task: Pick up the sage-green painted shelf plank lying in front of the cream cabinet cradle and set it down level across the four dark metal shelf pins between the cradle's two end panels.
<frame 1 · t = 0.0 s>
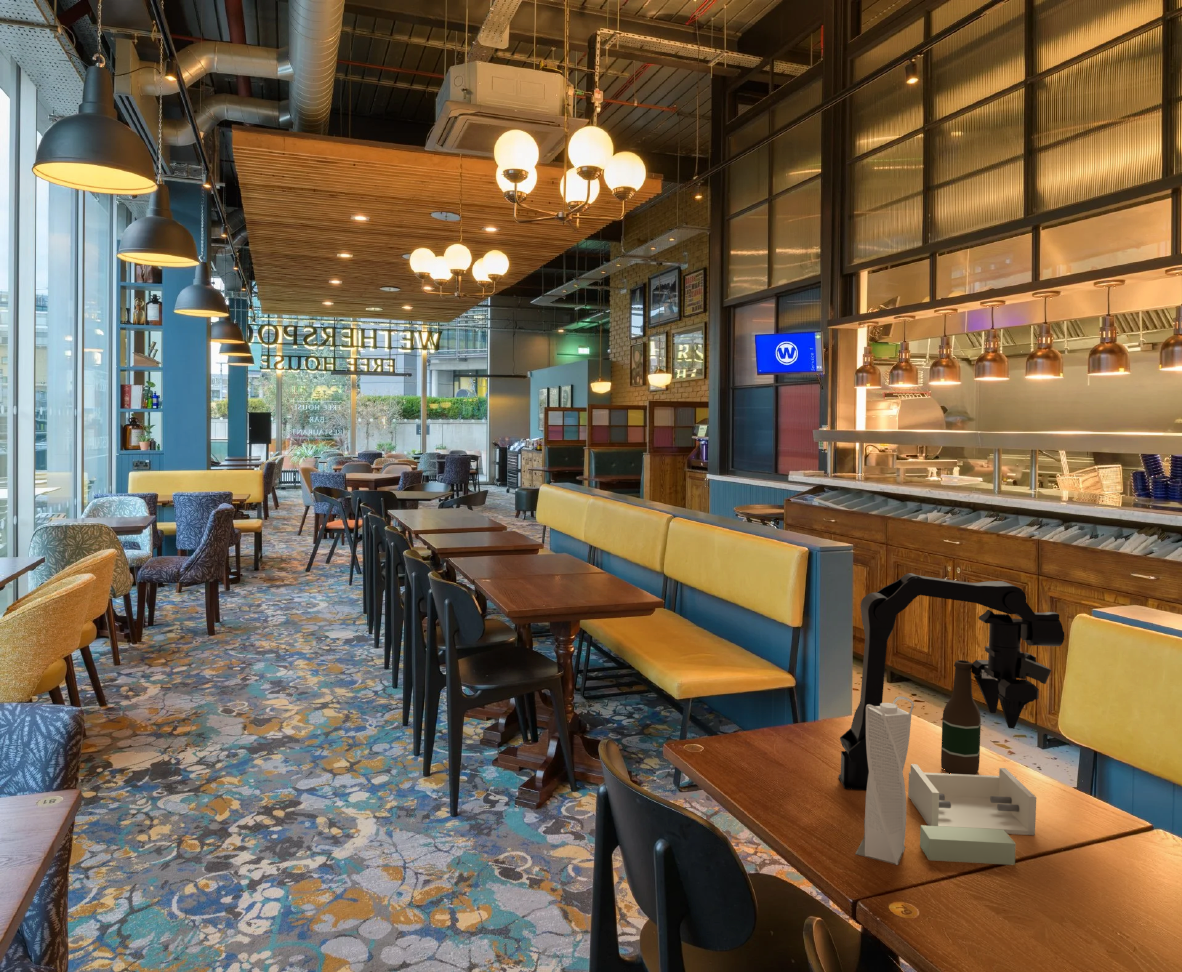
hand: (1001, 720, 166), 15 cm above the table, tool pointing down, fingers open, 9 cm apart
beer bottle: (959, 771, 177), on the table
shelf board: (966, 856, 140), on the table
cradle: (970, 817, 155), on the table
skyscraper: (884, 856, 141), on the table
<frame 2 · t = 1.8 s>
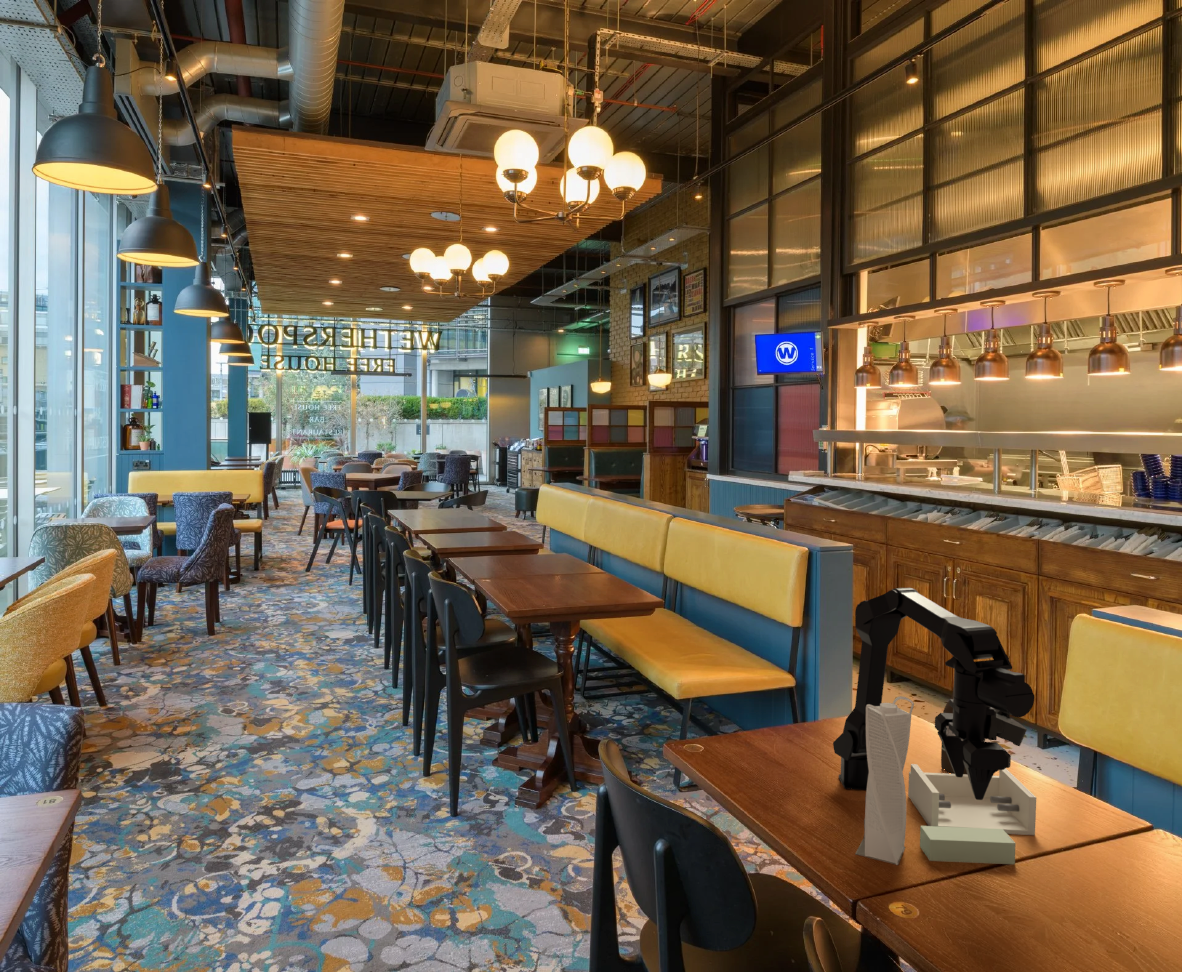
hand: (968, 787, 140), 12 cm above the table, tool pointing down, fingers open, 9 cm apart
nothing on the table moved.
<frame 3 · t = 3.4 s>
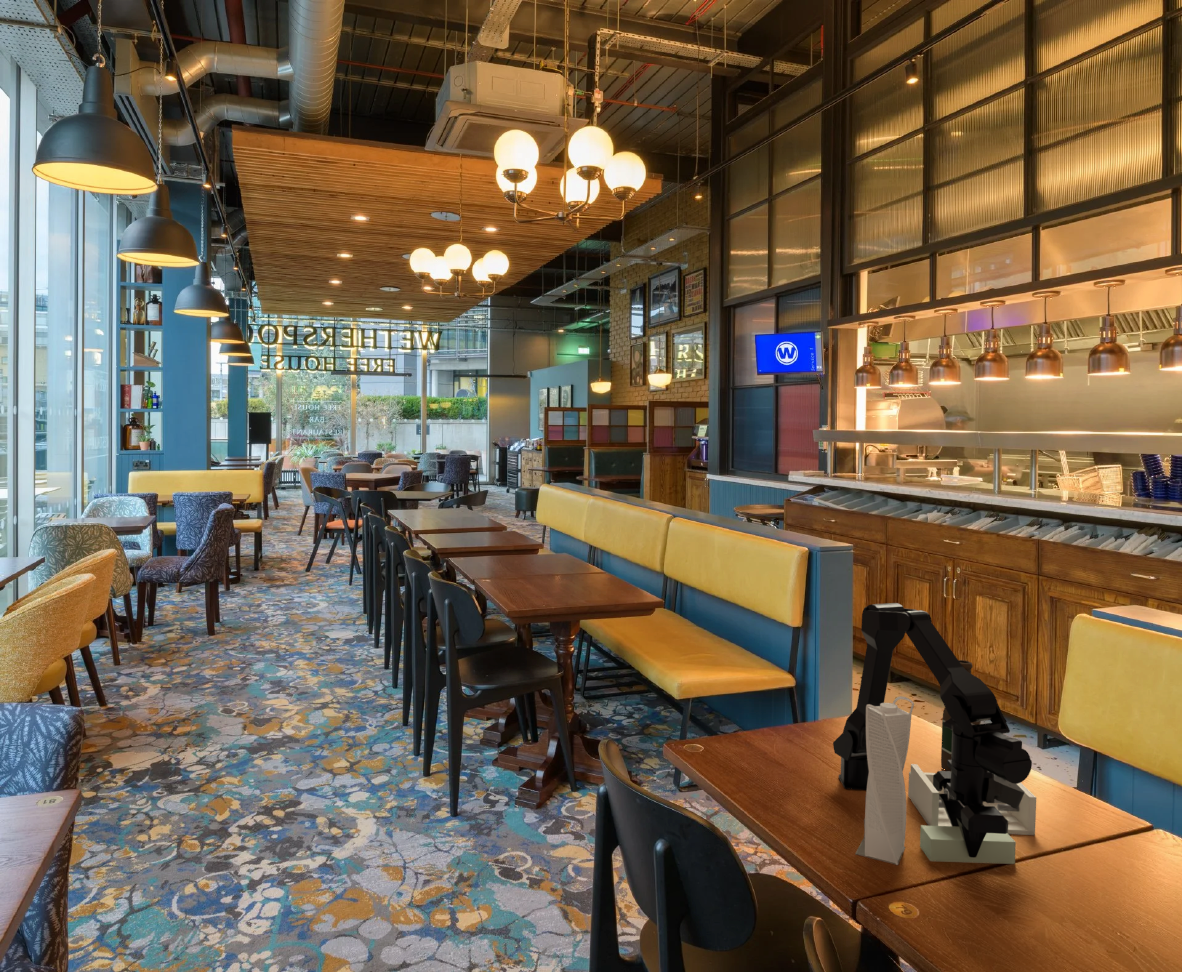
hand: (966, 848, 140), 1 cm above the table, tool pointing down, fingers closed on shelf board, 5 cm apart
shelf board: (966, 856, 140), on the table, touching gripper
everything else where it was.
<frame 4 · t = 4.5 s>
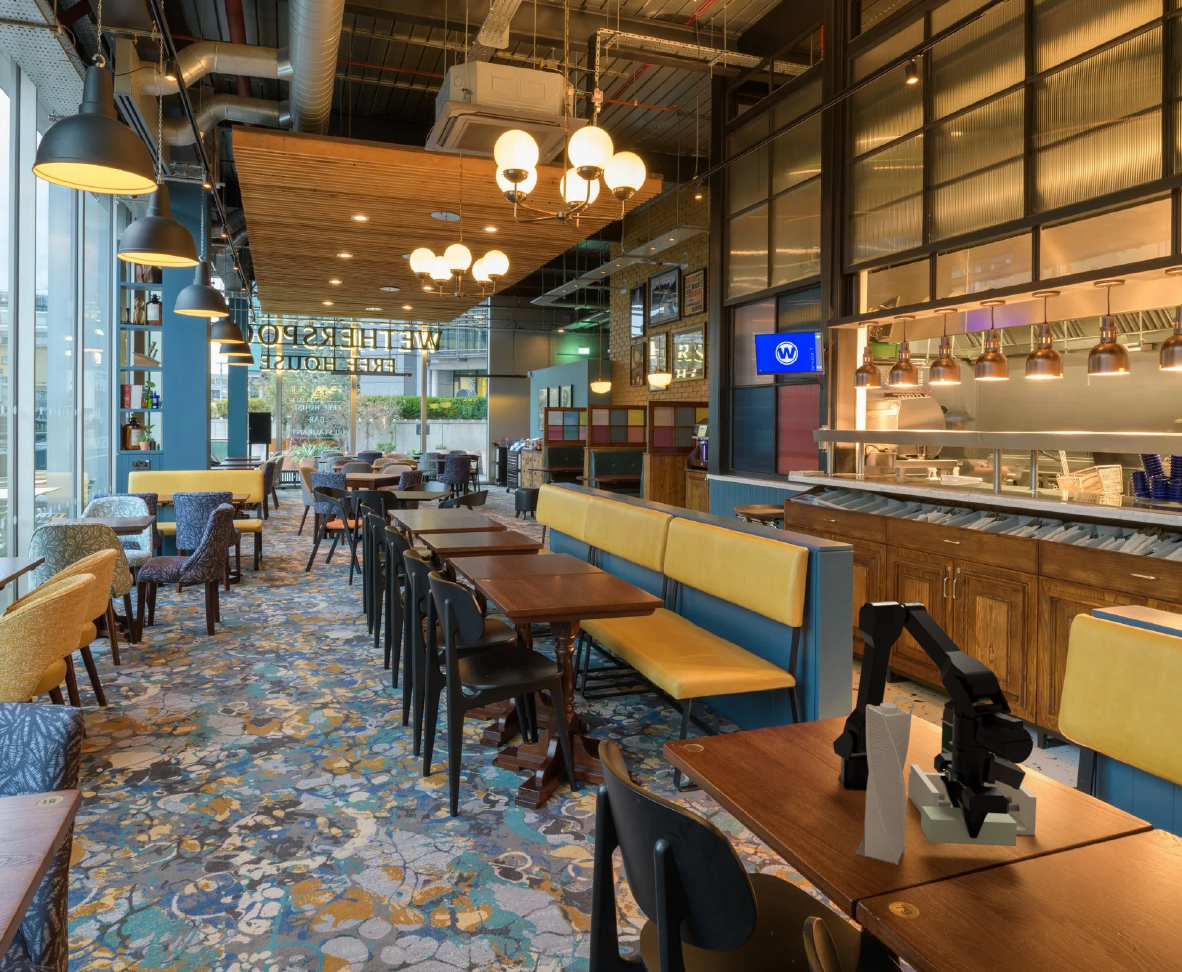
hand: (967, 830, 140), 4 cm above the table, tool pointing down, fingers closed on shelf board, 5 cm apart
shelf board: (967, 837, 140), point 3 cm above the table, touching gripper
everything else where it was.
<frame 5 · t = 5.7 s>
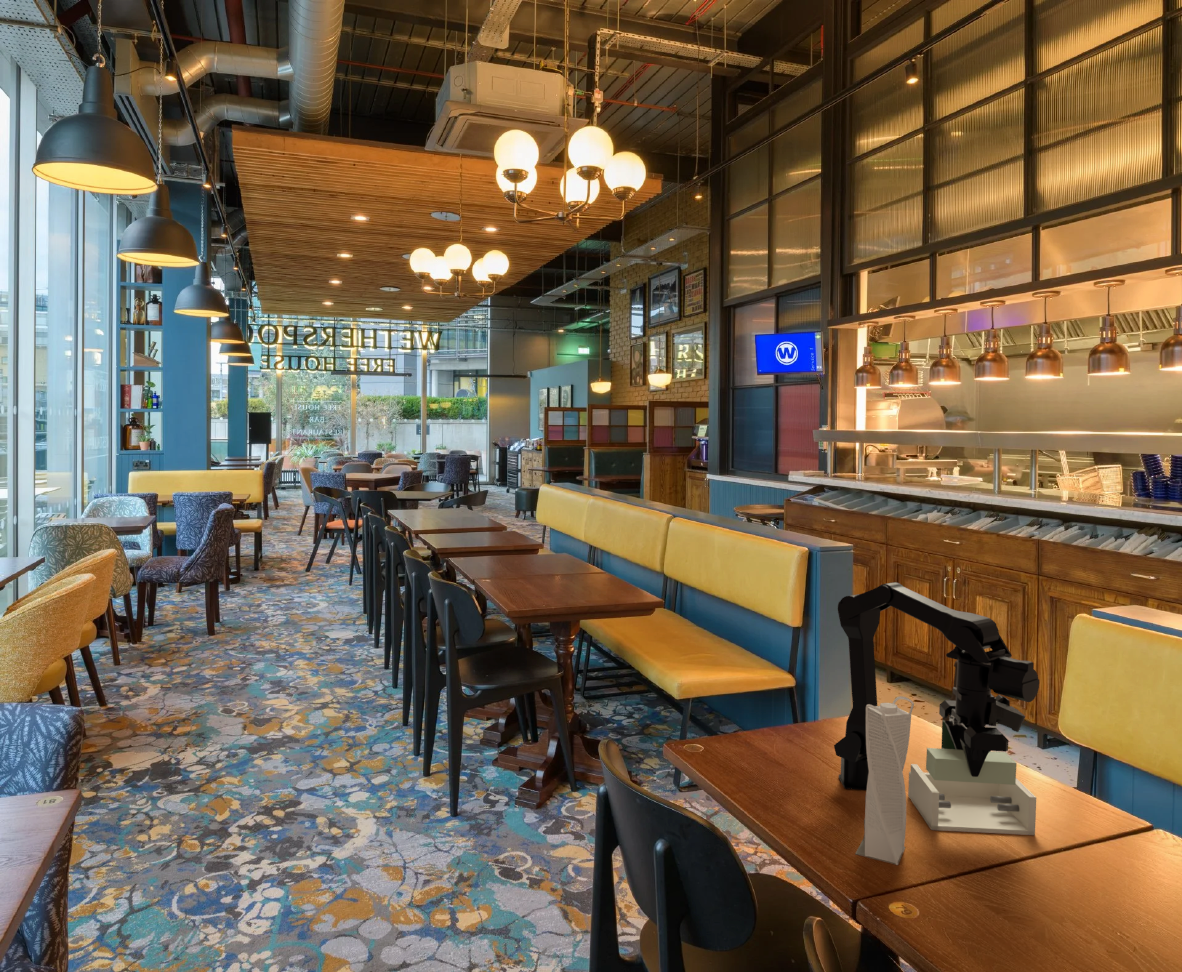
hand: (969, 770, 149), 11 cm above the table, tool pointing down, fingers closed on shelf board, 5 cm apart
shelf board: (969, 776, 149), point 10 cm above the table, touching gripper
everything else where it was.
when the fingers open (6 cm above the table, at t = 7.6 s): shelf board stays where it is, resting on cradle.
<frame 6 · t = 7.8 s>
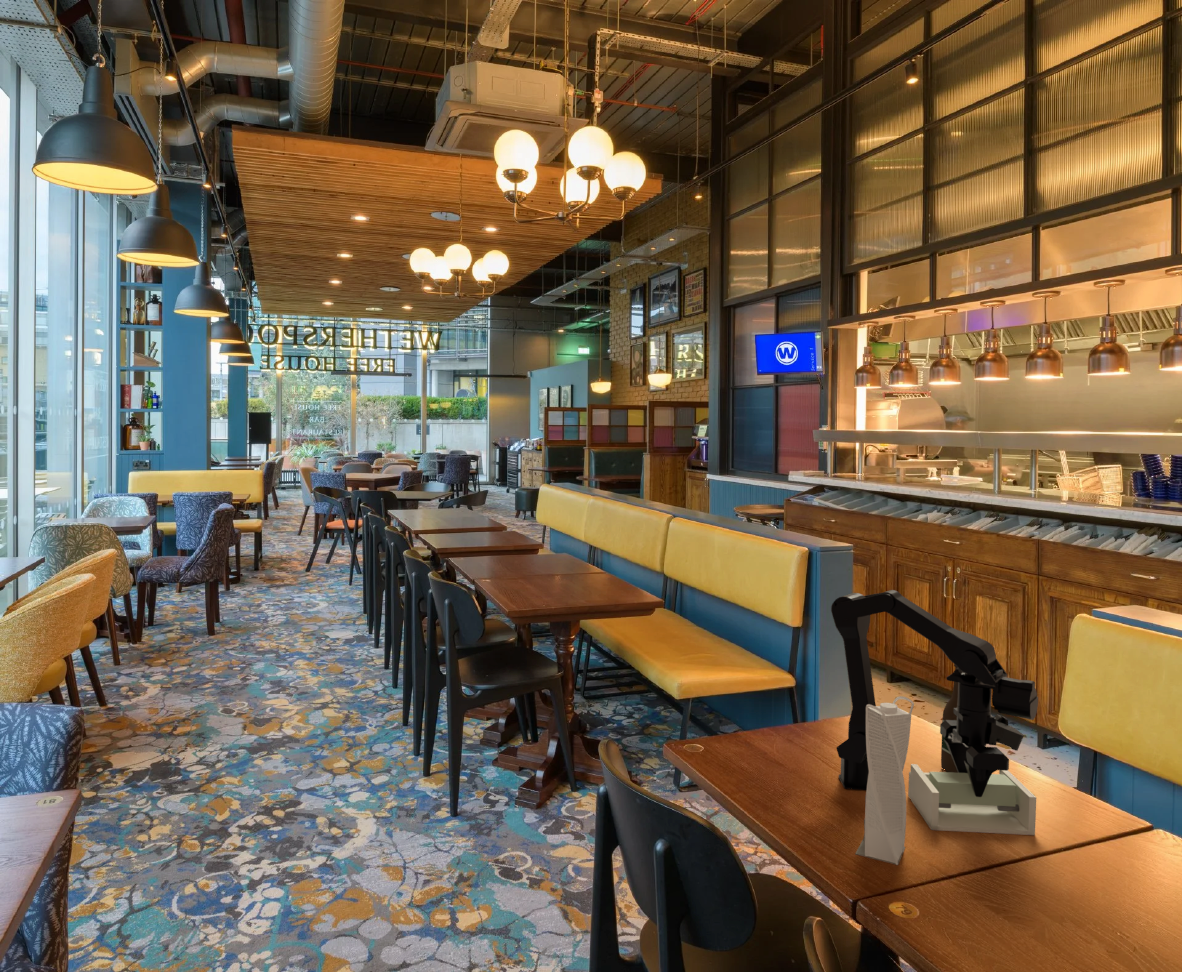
hand: (971, 788, 154), 6 cm above the table, tool pointing down, fingers open, 7 cm apart
shelf board: (971, 798, 154), point 3 cm above the table, touching cradle
everything else where it was.
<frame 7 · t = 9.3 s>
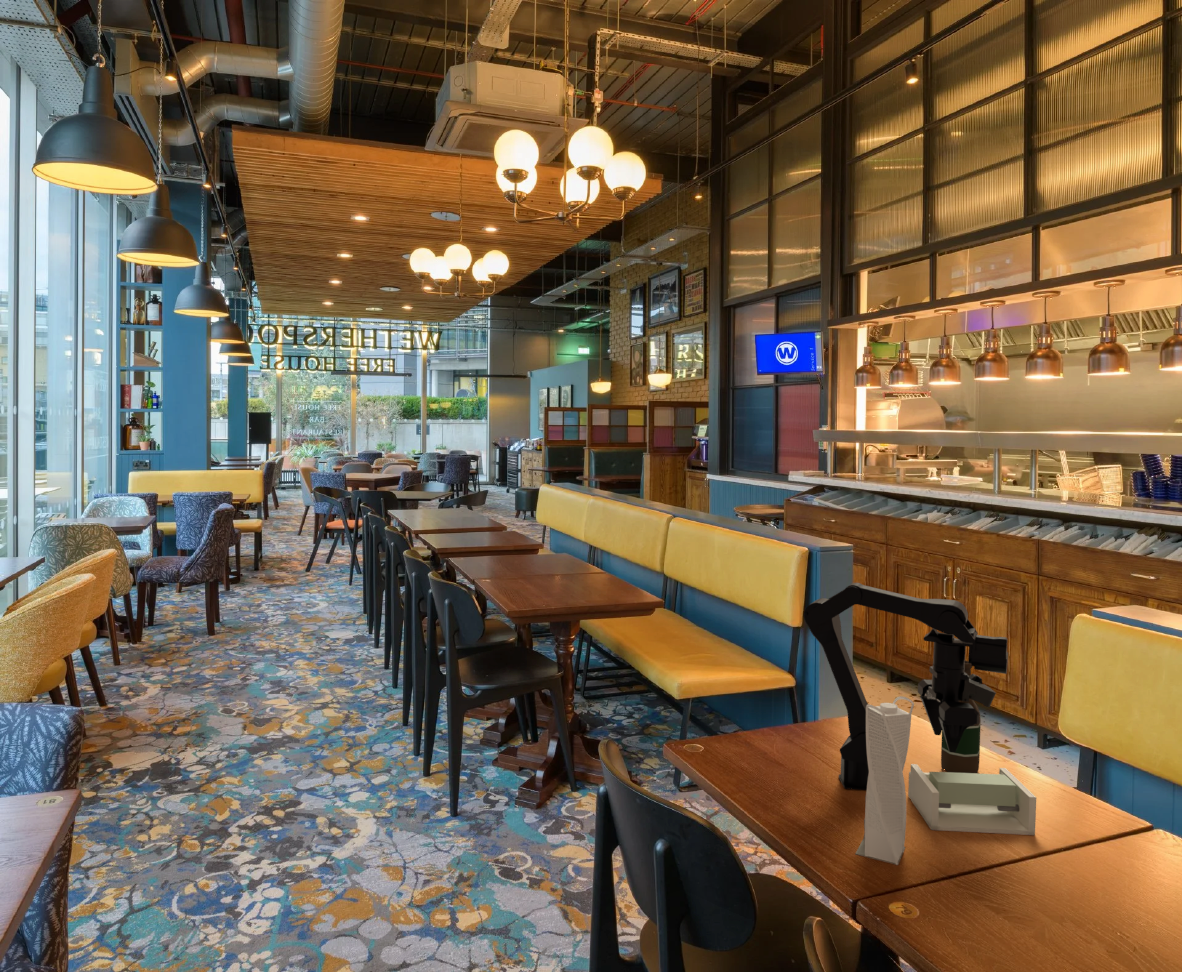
hand: (944, 743, 161), 12 cm above the table, tool pointing down, fingers open, 9 cm apart
nothing on the table moved.
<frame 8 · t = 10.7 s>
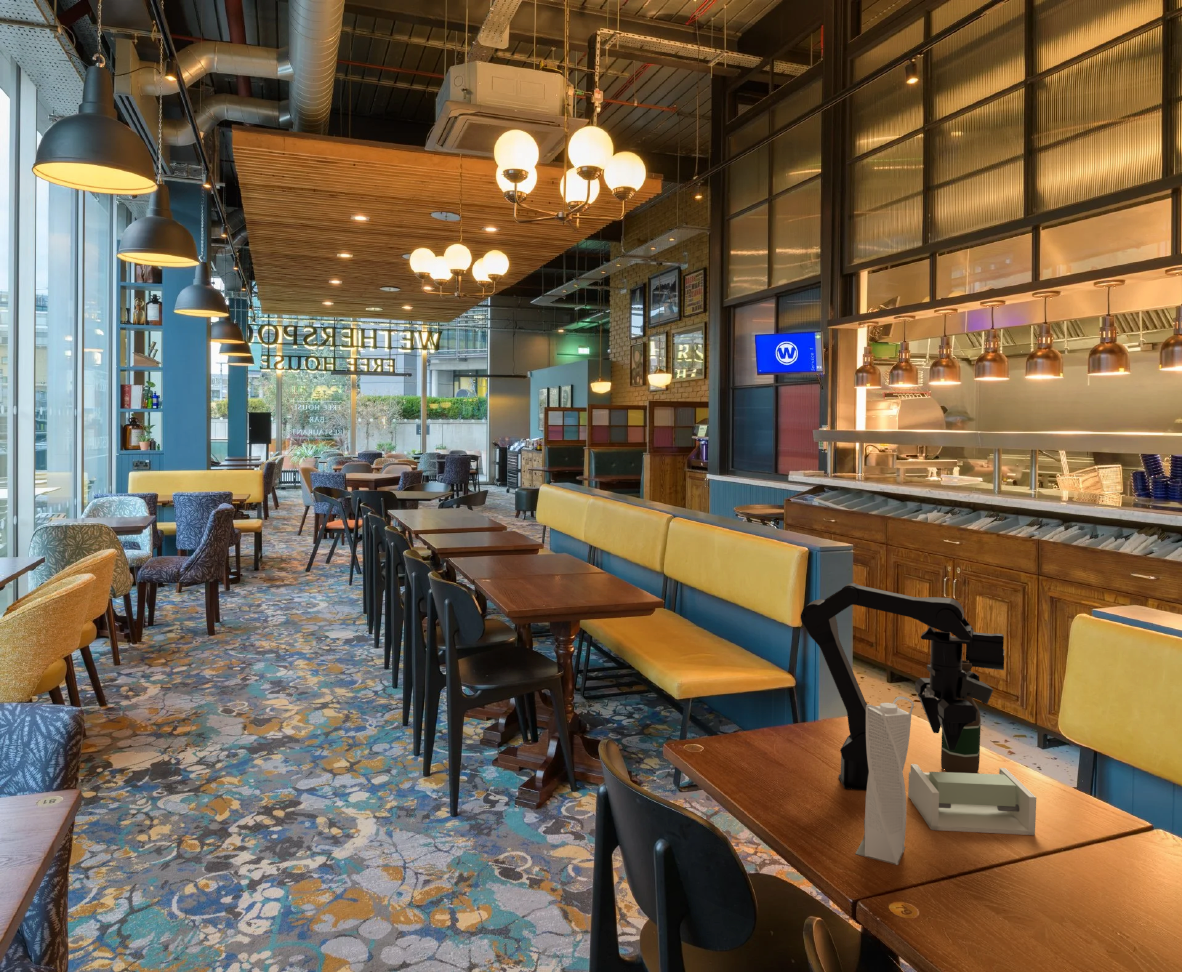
hand: (943, 741, 161), 12 cm above the table, tool pointing down, fingers open, 9 cm apart
nothing on the table moved.
at the end: shelf board 0.1 cm off-centre on the cradle, point 3.5 cm above the cradle's base; shelf board tilted 0°; the gripper is holding nothing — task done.
